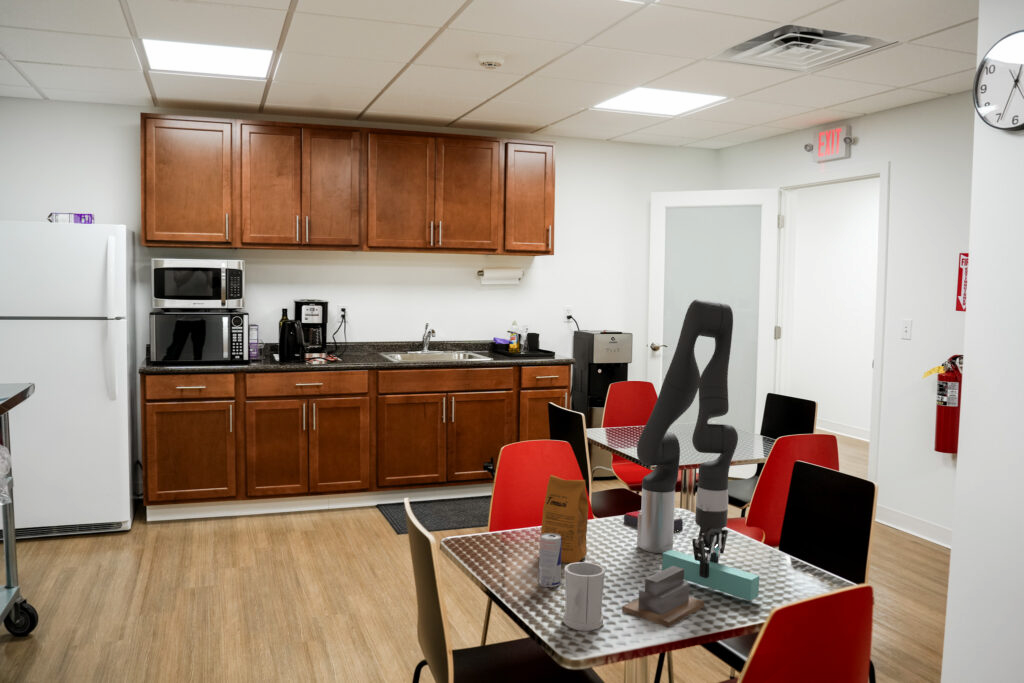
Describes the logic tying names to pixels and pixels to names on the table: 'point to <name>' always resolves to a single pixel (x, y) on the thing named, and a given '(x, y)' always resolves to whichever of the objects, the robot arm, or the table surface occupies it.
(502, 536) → the table surface
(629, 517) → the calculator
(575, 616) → the cup
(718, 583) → the teal bar
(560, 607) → the table surface
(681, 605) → the ridge block
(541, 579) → the energy drink
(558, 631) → the table surface
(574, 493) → the coffee package
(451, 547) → the table surface
